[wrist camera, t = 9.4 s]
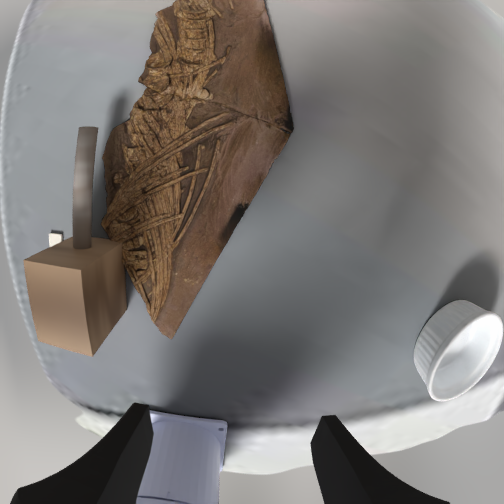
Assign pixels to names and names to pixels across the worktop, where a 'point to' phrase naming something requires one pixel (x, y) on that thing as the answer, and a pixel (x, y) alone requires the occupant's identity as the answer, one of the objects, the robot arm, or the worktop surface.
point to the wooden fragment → (194, 147)
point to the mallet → (78, 272)
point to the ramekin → (457, 348)
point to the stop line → (55, 238)
